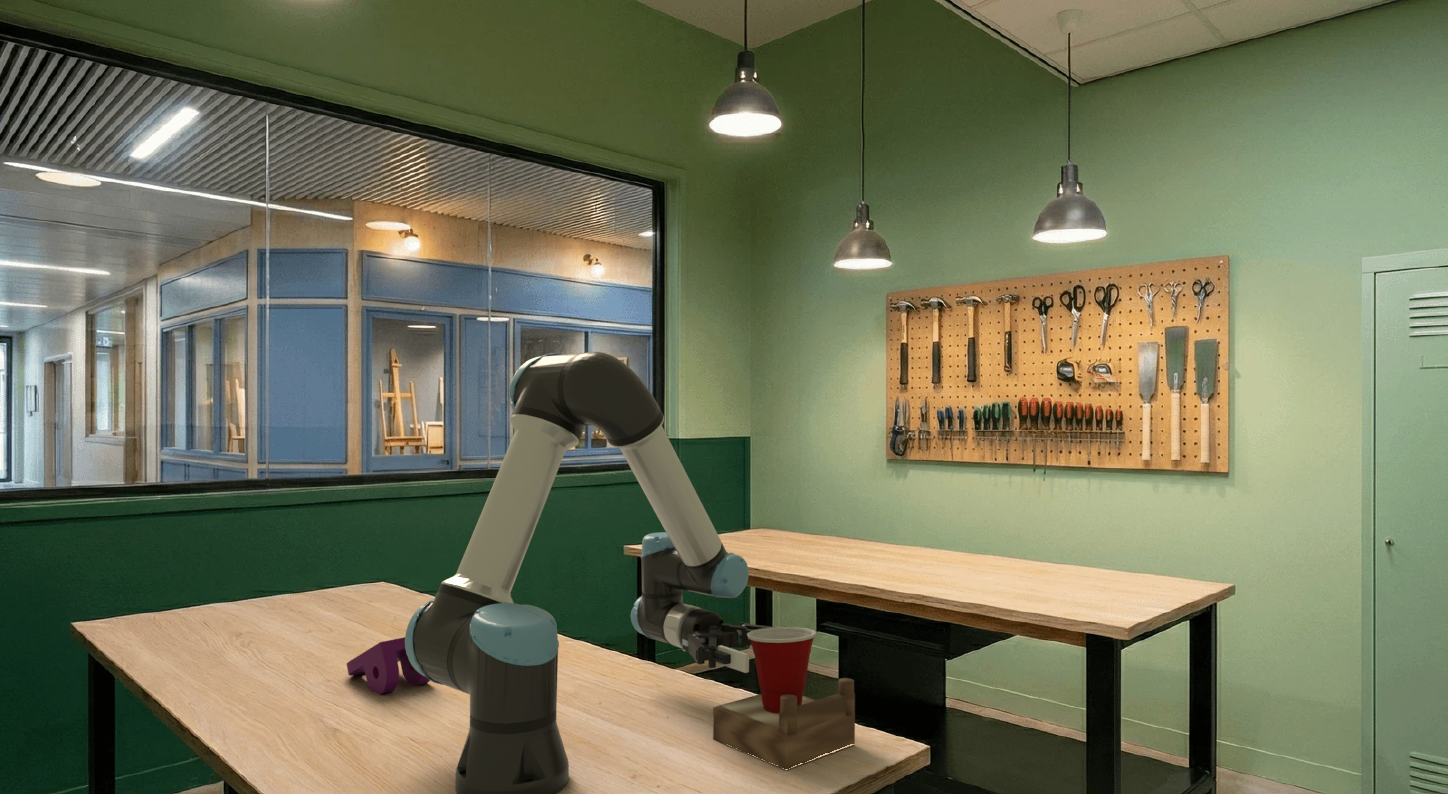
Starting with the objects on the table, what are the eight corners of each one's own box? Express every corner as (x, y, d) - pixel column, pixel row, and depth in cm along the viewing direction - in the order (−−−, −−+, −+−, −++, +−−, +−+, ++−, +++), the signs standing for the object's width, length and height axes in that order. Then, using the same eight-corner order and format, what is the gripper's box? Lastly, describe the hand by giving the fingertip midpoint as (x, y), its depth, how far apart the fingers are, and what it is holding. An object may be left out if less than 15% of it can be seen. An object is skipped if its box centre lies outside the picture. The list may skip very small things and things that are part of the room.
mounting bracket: (346, 712, 167) (389, 689, 157) (338, 668, 170) (380, 642, 159) (393, 700, 174) (438, 677, 164) (385, 658, 177) (428, 632, 166)
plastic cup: (784, 692, 146) (785, 619, 146) (830, 710, 137) (830, 632, 137) (732, 705, 139) (732, 628, 139) (776, 724, 130) (776, 642, 131)
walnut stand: (713, 739, 139) (713, 675, 139) (781, 718, 148) (781, 658, 149) (788, 771, 126) (788, 701, 126) (856, 746, 136) (857, 680, 136)
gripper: (748, 639, 163) (833, 665, 147) (636, 663, 147) (718, 696, 131) (748, 598, 163) (834, 620, 147) (636, 618, 147) (718, 644, 131)
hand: (779, 656), depth 139 cm, fingers open, 13 cm apart
